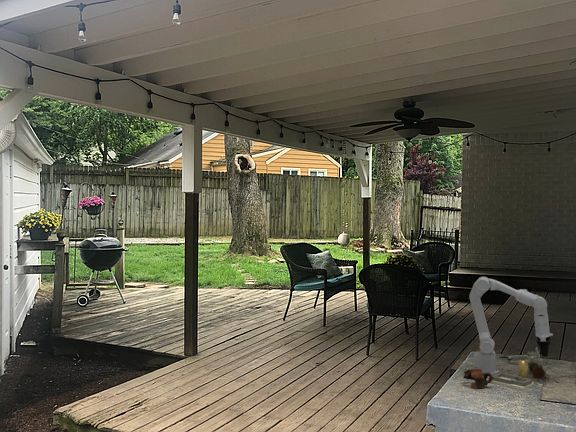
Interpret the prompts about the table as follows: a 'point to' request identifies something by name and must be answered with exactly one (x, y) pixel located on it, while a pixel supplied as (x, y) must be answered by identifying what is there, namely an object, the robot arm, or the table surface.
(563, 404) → the table surface
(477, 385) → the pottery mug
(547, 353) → the robot arm
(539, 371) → the bolt
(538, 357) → the bike brake
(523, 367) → the brass peg
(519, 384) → the keyhole plate
